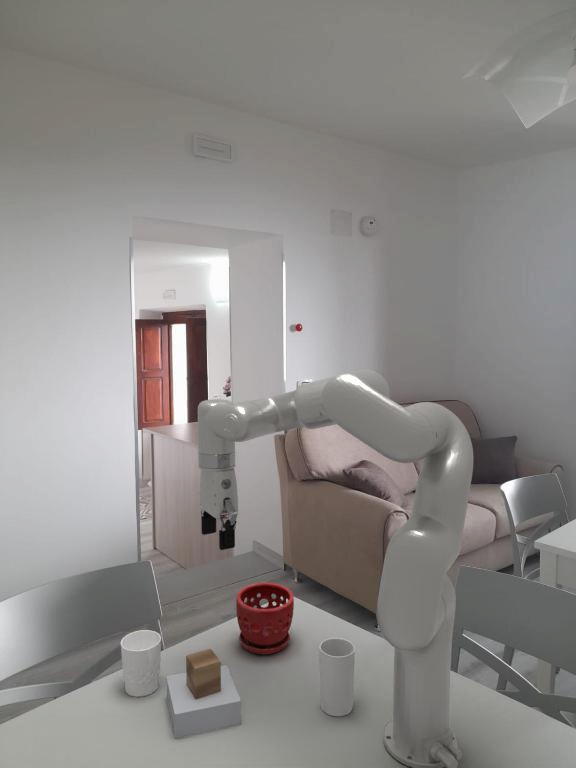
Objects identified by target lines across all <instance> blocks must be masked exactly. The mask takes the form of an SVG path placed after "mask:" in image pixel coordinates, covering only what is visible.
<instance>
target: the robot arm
mask: <svg viewBox="0 0 576 768" xmlns="http://www.w3.org/2000/svg"><path fill="white" fill-rule="evenodd" d="M335 425H337V426H338V427H339V428H341V429H342V430H344V431H345V432H347V433H348V434H349V435H351V436H353V437H354V438H356V439H357V440H358V441H360V442H362V443H363V444H365V445H366V446H368V447H370V448H371V449H372V450H374V451H376V452H377V453H378V454H380V455H382V456H383V457H385V458H387V459H388V460H391V461H393V462H395V463H396V462H397V463H400V464H412V463H416V462H419V461H421V460H422V461H421V462H422V464H421V466H420V467H421V468H420V471H419V474H418V477H417V480H416V487H415V492H414V493H415V494H414V500H413V504H412V510H411V513H410V515H409V518H408V519H407V521H406V522H405V523H404V524H403V525H402V526H400V527H399V528H398V529H397V530H396V531H395V533H393V535H392V536H391V538H390V540H389V542H388V545H387V547H386V550H385V556H384V561H383V566H382V567H383V568H382V571H381V572H382V573H381V579H380V584H379V591H378V597H377V605H376V621H377V626H378V628H379V631H380V633H381V635H382V637H383V638H384V639H385V640H386V642H387V643H389V645H391V646H392V647H394V650H393V651H394V656H393V691H392V693H393V694H392V695H393V697H392V698H393V699H392V701H393V702H392V719H391V720H390V721H389V722H388V723H387V724H386V725H385V728H384V730H383V742H384V743H383V744H384V747H385V748H386V750H387V753H389V754H390V756H392V757H393V758H394V759H395V760H397V761H398V762H399V763H402V764H403V765H405V766H407V767H409V768H458V766H459V760H461V759H462V758H463V755H464V753H463V751H461V750H460V748H458V746H459V745H458V740H457V738H456V735H455V734H454V731H453V730H452V729H451V728H450V726H449V725H450V695H451V691H450V690H451V688H450V687H451V665H452V643H453V634H454V625H455V616H456V607H457V606H456V605H457V600H456V599H457V598H456V590H455V587H454V585H453V584H454V583H452V581H451V579H450V577H449V576H448V575H447V573H448V571H449V569H450V568H451V567H452V565H454V563H455V561H456V560H457V558H458V557H459V554H460V552H461V550H462V549H461V548H462V543H463V536H464V533H463V532H464V528H465V523H466V517H467V511H468V503H469V495H470V489H471V485H472V478H473V473H474V471H473V470H474V448H473V444H472V440H471V437H470V434H469V431H468V430H467V428H466V426H465V425H464V423H463V422H462V421H461V420H460V418H459V417H458V416H457V415H456V414H455V413H454V412H452V411H451V410H450V409H448V408H446V407H445V406H443V405H441V404H439V403H436V402H431V401H424V402H423V401H422V402H417V403H414V404H410V405H407V406H405V407H403V406H402V405H400V404H399V403H397V402H395V401H394V400H392V399H390V387H389V384H388V382H387V380H386V379H385V378H384V376H382V374H380V373H378V372H377V371H374V370H371V369H358V370H353V371H348V372H346V371H345V372H341V373H339V374H336V375H334V376H330V377H328V378H323V379H320V380H315V381H312V382H311V381H310V382H307V383H306V382H305V383H303V384H300V385H297V388H296V389H295V390H293V391H288V392H284V393H281V394H280V393H279V394H275V395H273V396H272V395H271V396H267V397H263V398H259V399H258V398H257V399H251V400H247V401H244V402H243V401H242V402H237V403H234V402H232V401H231V400H228V399H222V398H221V399H219V398H218V399H215V398H214V399H205V400H202V401H200V402H199V404H198V406H197V444H198V445H197V451H198V453H197V456H198V457H197V458H198V459H197V461H198V469H199V470H200V480H199V500H200V502H199V504H200V507H201V510H200V517H201V518H200V519H201V522H200V523H201V527H200V528H201V534H202V535H203V536H204V535H210V534H215V533H217V520H218V523H219V527H220V530H218V541H219V542H218V546H219V547H218V549H219V550H220V551H224V550H229V549H235V546H236V525H237V517H238V515H239V501H238V500H239V499H238V498H239V497H238V484H237V477H236V471H235V468H236V443H242V442H243V443H244V442H248V441H251V440H254V439H257V438H260V437H265V436H267V435H271V434H274V433H280V432H285V431H288V430H293V429H298V428H306V429H307V430H316V429H321V428H325V427H330V426H335ZM224 520H225V522H224Z"/></svg>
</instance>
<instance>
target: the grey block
mask: <svg viewBox="0 0 576 768" xmlns="http://www.w3.org/2000/svg"><path fill="white" fill-rule="evenodd" d="M165 679H166V680H165V681H166V701H167V705H168V706H167V707H168V710H169V715H170V721H171V725H172V730H173V735H174V739H181V738H185V737H189V736H194V735H199V734H203V733H208V732H212V731H217V730H221V729H226V728H230V727H235V726H236V727H237V726H240V725H241V724H242V708H241V707H242V700H241V697H240V696H239V692H238V691H237V688H236V686H235V683H234V681H233V678H232V675H231V673H230V670H229V667H228V665H227V664H224V665H221V692H218V693H215V694H212V695H209V696H206V697H203V698H199V699H196V700H195V698H194V696H193V695H192V693H191V692H190V690H189V688H188V687H187V683H186V672H181V673H175V674H171V675H166V678H165Z"/></svg>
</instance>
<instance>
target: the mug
mask: <svg viewBox="0 0 576 768" xmlns="http://www.w3.org/2000/svg"><path fill="white" fill-rule="evenodd" d="M318 650H319V654H318V656H319V704H320V708H321V710H322V711H323V712H324V713H325V714H327V715H329V716H332V717H343V716H346V715H349V714H350V713H351V712H352V710H353V708H354V688H355V686H354V685H355V663H356V661H355V655H356V647H355V645H354V643H353V642H351V641H350V640H348V639H345V638H341V637H331V638H326V639H325V640H323V641H321V643H319V649H318Z"/></svg>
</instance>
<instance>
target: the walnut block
mask: <svg viewBox="0 0 576 768" xmlns="http://www.w3.org/2000/svg"><path fill="white" fill-rule="evenodd" d="M221 664H222V661H221V660H220V659H219V657H218V656H217V654H216V653H215V652H214V651H213V649H212V648H208V649H204V650H200V651H197V652H193V653H190V654H187V655H185V666H186V667H185V669H186V670H185V671H186V672H185V673H186V683H187V687H188V688H189V690H190V692H191V693H192V695H193V696H194V698H195V700H196V699H199V698H203V697H206V696H209V695H212V694H215V693H218V692H221V666H222V665H221Z"/></svg>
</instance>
